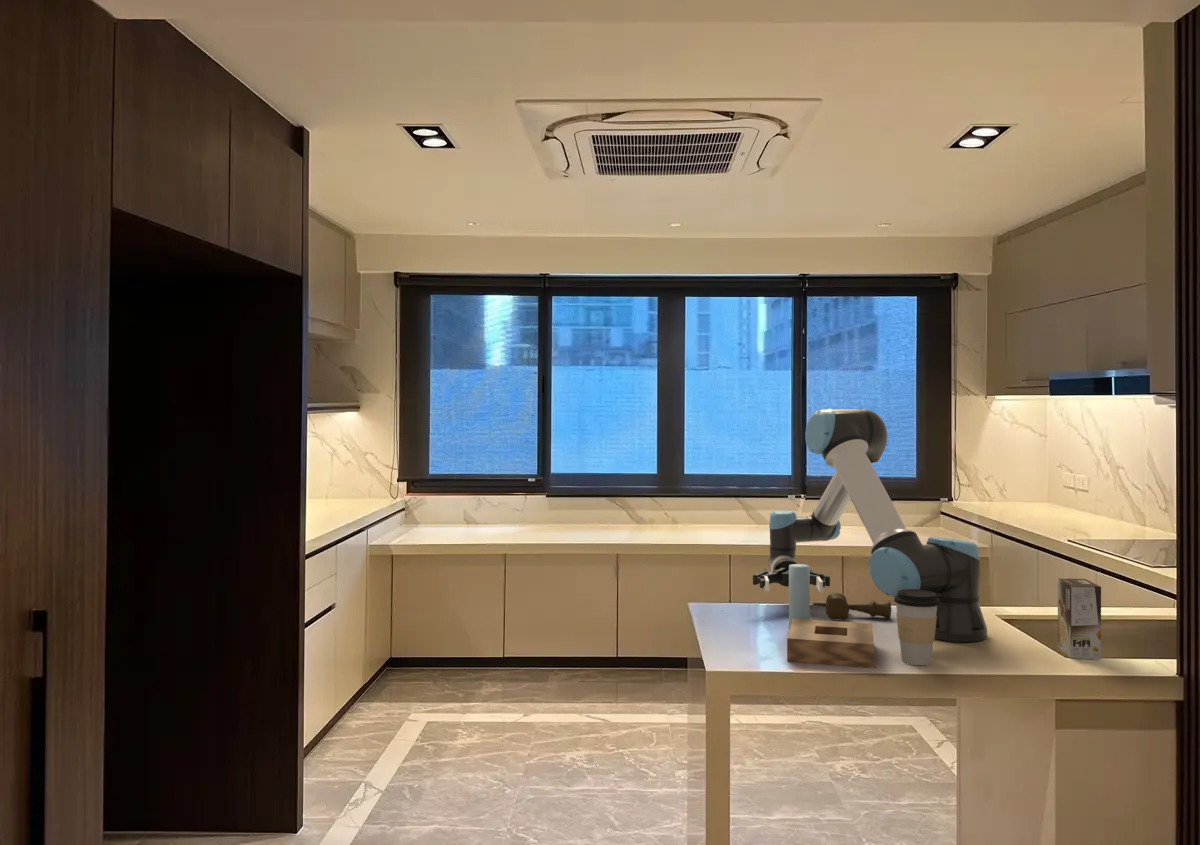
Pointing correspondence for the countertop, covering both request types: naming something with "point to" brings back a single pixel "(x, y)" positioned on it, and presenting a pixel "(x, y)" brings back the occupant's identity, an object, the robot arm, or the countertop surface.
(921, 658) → the coffee cup
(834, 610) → the kendama
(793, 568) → the peg
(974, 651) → the countertop surface
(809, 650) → the socket block
